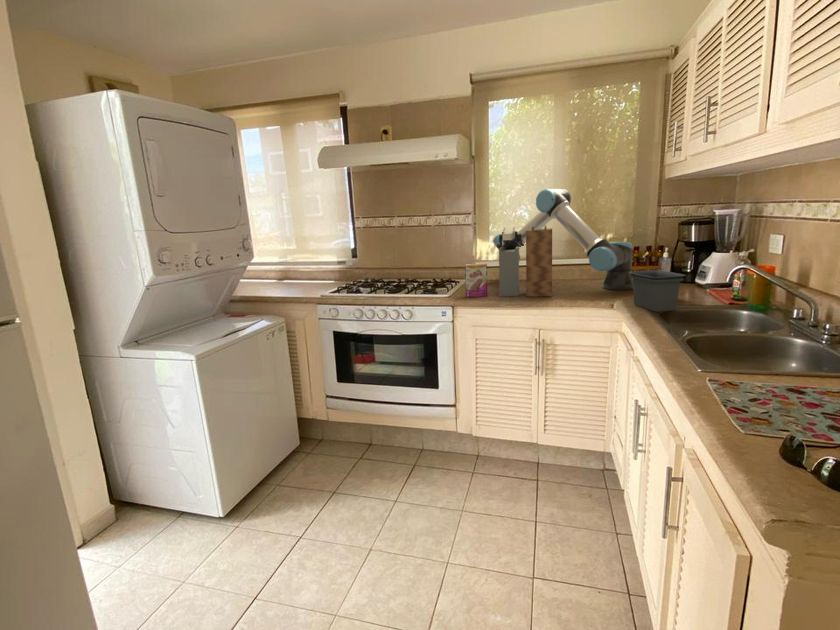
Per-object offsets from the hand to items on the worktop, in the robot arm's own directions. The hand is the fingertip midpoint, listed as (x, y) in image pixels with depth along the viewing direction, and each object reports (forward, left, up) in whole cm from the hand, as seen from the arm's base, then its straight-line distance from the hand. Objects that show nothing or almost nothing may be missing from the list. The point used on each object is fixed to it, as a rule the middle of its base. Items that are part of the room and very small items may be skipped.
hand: (509, 229), depth 231 cm
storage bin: (-69, +21, -32) cm, 79 cm away
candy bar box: (+13, +14, -32) cm, 38 cm away
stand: (-16, +3, -32) cm, 36 cm away
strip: (-1, +3, -4) cm, 5 cm away
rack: (-1, +4, -32) cm, 32 cm away
